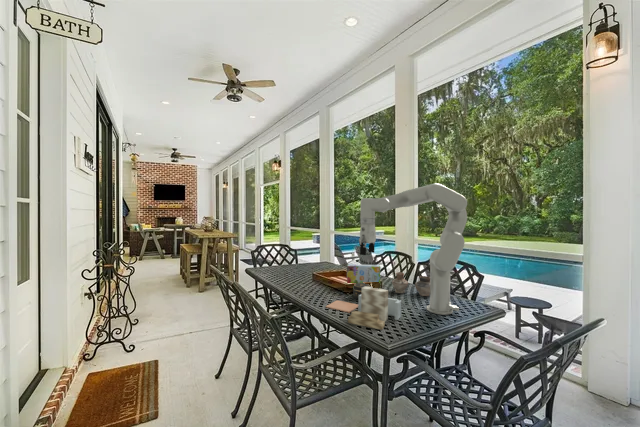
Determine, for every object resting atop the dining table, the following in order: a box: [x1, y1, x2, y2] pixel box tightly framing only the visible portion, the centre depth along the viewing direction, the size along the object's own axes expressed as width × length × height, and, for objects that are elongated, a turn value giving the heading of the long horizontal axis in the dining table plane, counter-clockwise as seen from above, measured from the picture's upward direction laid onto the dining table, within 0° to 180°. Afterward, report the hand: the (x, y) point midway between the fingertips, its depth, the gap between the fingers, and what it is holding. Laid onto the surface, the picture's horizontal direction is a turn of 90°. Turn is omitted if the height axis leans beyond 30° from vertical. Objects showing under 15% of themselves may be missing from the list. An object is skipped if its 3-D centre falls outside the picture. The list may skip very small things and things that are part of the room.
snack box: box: [346, 263, 381, 289], centre depth 195 cm, size 21×6×15 cm, turn 84°
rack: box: [357, 295, 402, 321], centre depth 151 cm, size 20×5×8 cm, turn 57°
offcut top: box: [350, 310, 379, 322], centre depth 138 cm, size 12×3×2 cm, turn 66°
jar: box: [352, 283, 371, 301], centre depth 175 cm, size 10×10×8 cm
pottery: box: [391, 271, 430, 297], centre depth 185 cm, size 11×25×12 cm, turn 70°
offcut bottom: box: [347, 314, 386, 331], centre depth 138 cm, size 16×4×3 cm, turn 62°
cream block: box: [361, 286, 389, 322], centre depth 145 cm, size 12×4×14 cm, turn 57°
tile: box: [325, 300, 358, 314], centre depth 161 cm, size 14×12×1 cm
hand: (367, 253), depth 161 cm, fingers open, 9 cm apart
